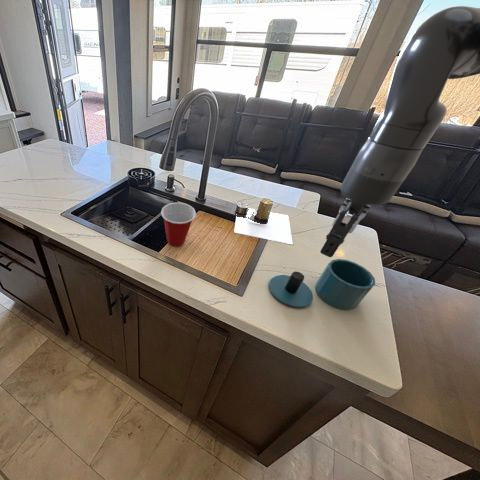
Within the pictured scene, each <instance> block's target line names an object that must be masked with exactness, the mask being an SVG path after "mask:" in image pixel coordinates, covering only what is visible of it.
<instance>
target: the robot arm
mask: <svg viewBox="0 0 480 480" xmlns="http://www.w3.org/2000/svg"><path fill="white" fill-rule="evenodd" d="M476 75H480V7H473V6H465V5H457V6H451V7H447V8H444V9H442V10H440V11H438V12H436V13H434V14H432V15H431V16H430V17H428V18H427V19H426V20H424V21H423V22H422V24H420V25H419V27H418V28H416V30H415V31H414V32H413V33H412V34H411V35H410V37H409V38H408V40H407V41H406V43H405V44H404V45H403V47H402V49H401V51H400V53H399V56H398V58H397V61H396V64H395V66H394V69H393V73H392V77H391V80H390V83H389V84H390V85H389V88H388V92H387V95H386V99H385V104H384V109H383V111H382V113H381V115H380V116H379V118H378V120H377V121H376V123H375V125H374V127H373V129H372V131H371V132H370V135H368V136H369V137H368V138H367V139H366V141H365V143H364V144H363V145H362V147H361V148H360V149H359V152H358V153H357V155H356V156H355V158H354V160H353V162H352V164H351V166H350V168H349V170H348V172H347V173H346V175H345V177H344V179H343V181H342V183H341V184H340V189H339V190H340V191H341V193H342V195H344V196H346V197H348V198H346V199H345V201H344V202H343V203H342V205H341V206H340V207H339V210H338V213H337V215H336V217H335V218H334V220H333V221H332V225H331V226H332V227H331V229H330V230H329V232H328V234H326V236H325V239H326V240H325V242H324V244H323V245H322V247H321V249H320V254H322V255H324V256H326V257H328V258H333V256H335V253H336V252H337V250H338V249H339V247H340V246H341V245H342V244H344V242H345V239H346V237H347V236H348V234H352V233H353V232H354V231H355V229H356V227H357V226H358V224H360V221H362V220H364V218H365V217H366V215H367V214H368V212H369V210H370V209H371V207H372V206H371V205H373V206H382V205H386V204H388V203H389V202H390V201H391V200H392V198H393V197H394V195H396V193H397V191H398V190H399V188H400V187H401V185H402V184H403V183H404V181H405V180H406V178H407V177H408V175H409V174H410V172H411V171H412V169H413V168H414V167H415V165H416V164H417V161H418V159H419V157H420V156H421V153H422V152H423V150H424V149H425V147H426V146H427V144H428V143H429V141H430V140H431V138H432V137H433V136H434V134H435V133H436V132H437V130H438V128H439V127H440V125H441V124H442V122H443V121H444V119H445V117H446V115H447V106H446V105H445V104H444V103H442V102H441V101H440V98H441V96H442V93H443V91H444V88H445V87H446V84H447V82H448V80H457V79H463V78H468V77H473V76H476Z"/></svg>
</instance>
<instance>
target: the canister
mask: <svg viewBox="0 0 480 480" xmlns="http://www.w3.org/2000/svg"><path fill="white" fill-rule="evenodd" d="M375 285H376V278H375V277H374V275H373V274H372V273H371V272H370V270H368V269H367V268H365V267H364V266H363V265H361V264H359V263H356V262H354V261H351V260H348V259H343V258H336V259H332V260H330V261H329V262H328V263H327V264H326V267H325V268H324V270H323V271H322V273H321V275H320V276H319V278H318V280H317V281H316V283H315V286H314V290H315V293H316V294H317V296H318V297H319V298H320V299H321V301H323V302H324V303H326V304H327V305H328V306H331V307H332V308H335V309H337V310H340V311H341V310H342V311H352V310H354V309H356V308H357V306H359V304H360V303H361V302H362V301H363V300H364V298H365V297H366V296H367V295H368V294H369V292H370V291H371V290H372V289H373V287H374V286H375Z"/></svg>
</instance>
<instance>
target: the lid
mask: <svg viewBox="0 0 480 480" xmlns="http://www.w3.org/2000/svg"><path fill="white" fill-rule="evenodd" d="M304 280H305V275H304V274H303V273H302V272H300V271H296V270H295V271H293V272H291V274H290V275H288V274H277V275H274V276H273V277H271V278H270V280H269V282H268V289H269V291H270V293H271V294H272V296H273V297H274V298H275V299H276V300H278V301H280V302H281V303H282V304H284V305H287V306H290V307H293V308H305V307H308V306H310V305H311V303H312V302H313V299H314V294H313V291H312V290H311V288H310V287H309V286H308V285H307V284H306V283H305V282H304Z"/></svg>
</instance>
